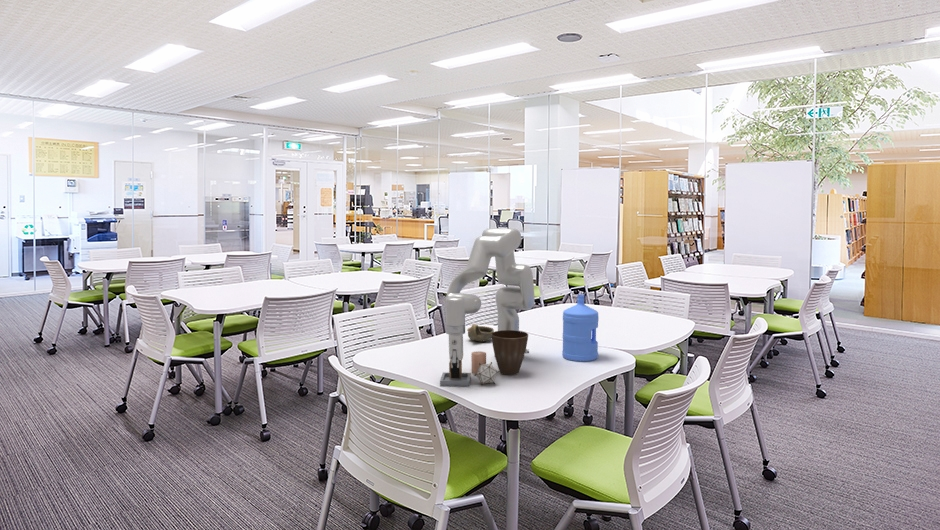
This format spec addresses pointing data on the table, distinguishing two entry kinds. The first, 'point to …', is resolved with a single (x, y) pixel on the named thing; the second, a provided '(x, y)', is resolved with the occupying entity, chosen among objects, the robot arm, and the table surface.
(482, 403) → the table surface
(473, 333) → the tan curved open container
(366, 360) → the table surface
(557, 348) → the table surface
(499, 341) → the plant pot
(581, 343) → the water jug
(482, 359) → the peach round domed cylinder
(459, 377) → the walnut block
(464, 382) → the tray
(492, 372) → the game die
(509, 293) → the robot arm
